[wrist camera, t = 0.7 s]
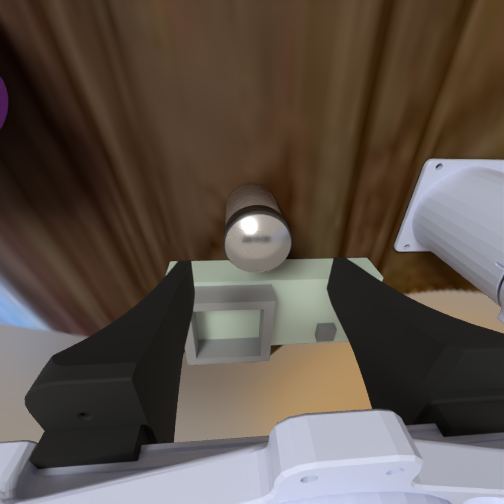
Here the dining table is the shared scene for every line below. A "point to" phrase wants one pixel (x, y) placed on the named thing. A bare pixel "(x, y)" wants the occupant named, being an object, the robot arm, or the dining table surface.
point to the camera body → (261, 309)
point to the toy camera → (3, 102)
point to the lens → (255, 230)
